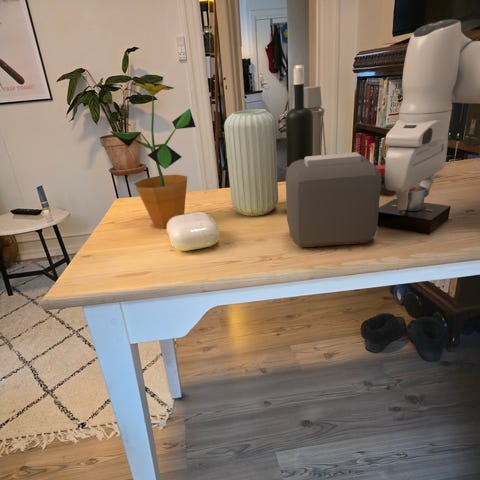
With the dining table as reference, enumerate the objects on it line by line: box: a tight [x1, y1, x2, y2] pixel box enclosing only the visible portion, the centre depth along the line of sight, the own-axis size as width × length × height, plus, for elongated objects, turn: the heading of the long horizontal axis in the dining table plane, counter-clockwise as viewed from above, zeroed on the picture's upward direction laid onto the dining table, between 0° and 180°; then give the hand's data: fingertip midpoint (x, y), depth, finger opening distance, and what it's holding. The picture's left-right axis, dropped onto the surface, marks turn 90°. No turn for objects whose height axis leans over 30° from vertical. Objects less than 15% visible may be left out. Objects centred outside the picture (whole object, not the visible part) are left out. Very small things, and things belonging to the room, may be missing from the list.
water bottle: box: [292, 85, 327, 156], centre depth 107 cm, size 9×8×25 cm
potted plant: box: [109, 81, 197, 229], centre depth 92 cm, size 18×19×30 cm
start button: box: [375, 164, 385, 176], centre depth 106 cm, size 4×4×2 cm
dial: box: [404, 185, 426, 211], centre depth 83 cm, size 4×4×4 cm
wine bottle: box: [285, 64, 313, 169], centre depth 91 cm, size 6×6×30 cm
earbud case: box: [165, 211, 220, 252], centre depth 85 cm, size 10×13×5 cm
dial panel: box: [377, 198, 452, 236], centre depth 85 cm, size 12×10×3 cm
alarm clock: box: [285, 151, 381, 248], centre depth 77 cm, size 16×11×16 cm
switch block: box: [380, 175, 396, 197], centre depth 108 cm, size 12×10×4 cm
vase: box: [223, 108, 279, 217], centre depth 96 cm, size 12×12×22 cm
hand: (413, 202), depth 83 cm, fingers open, 8 cm apart
